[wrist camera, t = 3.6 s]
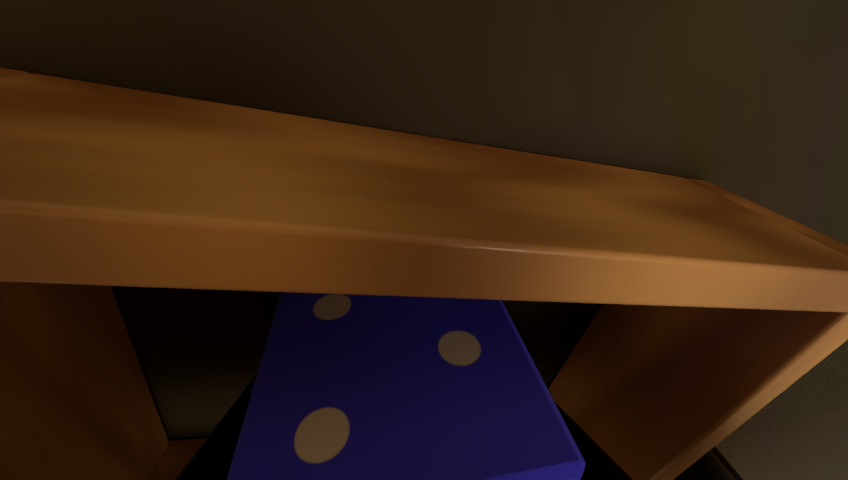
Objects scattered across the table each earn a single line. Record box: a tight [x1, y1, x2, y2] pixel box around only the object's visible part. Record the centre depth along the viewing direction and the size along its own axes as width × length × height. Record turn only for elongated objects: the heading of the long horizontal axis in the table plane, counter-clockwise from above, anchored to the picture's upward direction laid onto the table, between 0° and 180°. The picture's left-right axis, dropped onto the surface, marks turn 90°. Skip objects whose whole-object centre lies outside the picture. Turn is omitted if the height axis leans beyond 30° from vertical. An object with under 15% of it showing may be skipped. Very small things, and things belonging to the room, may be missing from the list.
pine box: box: [0, 67, 848, 480], centre depth 8 cm, size 15×12×4 cm
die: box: [227, 292, 586, 480], centre depth 8 cm, size 5×5×5 cm
